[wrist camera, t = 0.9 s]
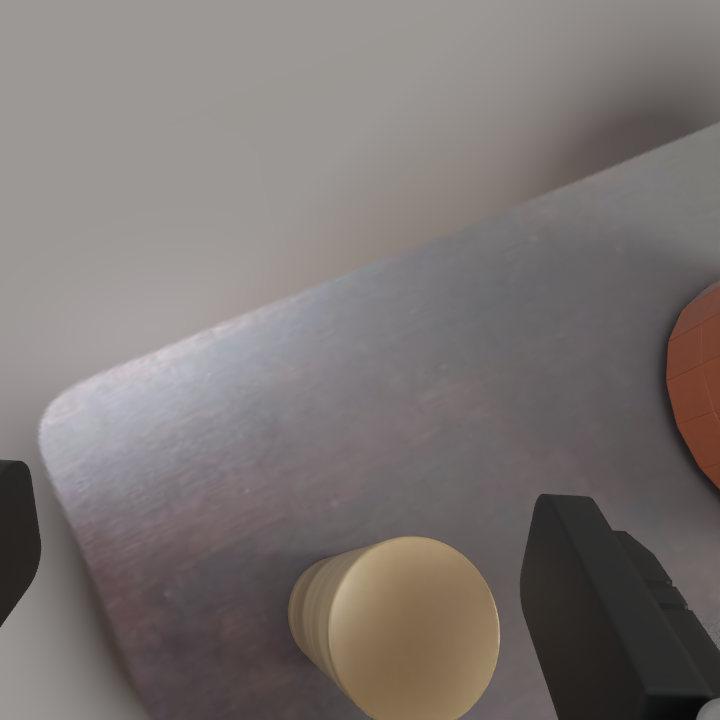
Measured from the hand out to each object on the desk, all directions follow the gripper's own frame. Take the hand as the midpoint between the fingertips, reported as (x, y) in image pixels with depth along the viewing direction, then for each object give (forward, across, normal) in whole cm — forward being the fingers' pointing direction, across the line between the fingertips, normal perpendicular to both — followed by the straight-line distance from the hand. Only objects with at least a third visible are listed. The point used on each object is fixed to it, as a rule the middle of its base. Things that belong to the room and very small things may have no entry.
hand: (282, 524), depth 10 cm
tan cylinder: (+12, -1, +13) cm, 18 cm away
